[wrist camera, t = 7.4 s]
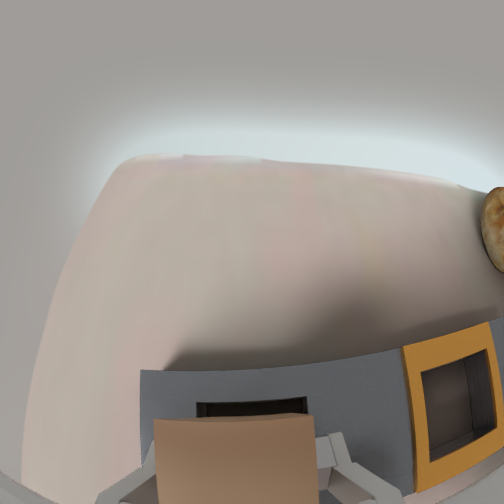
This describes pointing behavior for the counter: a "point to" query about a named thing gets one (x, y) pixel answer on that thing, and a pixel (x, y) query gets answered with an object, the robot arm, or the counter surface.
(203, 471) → the peg
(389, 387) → the rail
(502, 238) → the onion
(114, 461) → the counter surface
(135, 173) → the counter surface
